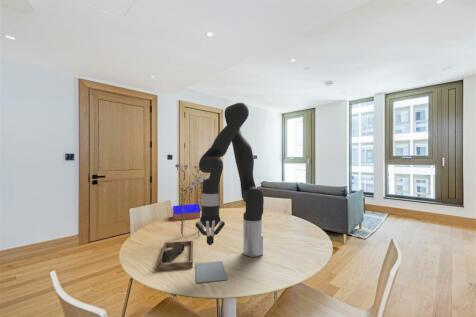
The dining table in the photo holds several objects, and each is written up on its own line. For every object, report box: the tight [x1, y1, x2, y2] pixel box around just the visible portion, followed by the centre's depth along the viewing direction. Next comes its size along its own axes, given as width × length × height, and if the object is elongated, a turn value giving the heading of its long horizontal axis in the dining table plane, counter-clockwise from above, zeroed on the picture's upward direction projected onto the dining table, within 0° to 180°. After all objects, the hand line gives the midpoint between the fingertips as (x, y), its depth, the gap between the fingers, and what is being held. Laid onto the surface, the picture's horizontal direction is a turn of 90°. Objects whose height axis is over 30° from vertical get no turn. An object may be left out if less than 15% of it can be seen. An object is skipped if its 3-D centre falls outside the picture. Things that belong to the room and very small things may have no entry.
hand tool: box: [162, 243, 185, 263], centre depth 106 cm, size 19×4×5 cm, turn 167°
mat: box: [195, 260, 228, 284], centre depth 95 cm, size 12×16×1 cm
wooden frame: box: [156, 240, 194, 272], centre depth 110 cm, size 15×26×2 cm, turn 11°
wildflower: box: [174, 163, 208, 238], centre depth 139 cm, size 22×23×45 cm
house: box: [172, 203, 201, 221], centre depth 176 cm, size 12×20×12 cm, turn 111°
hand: (210, 244), depth 95 cm, fingers closed
